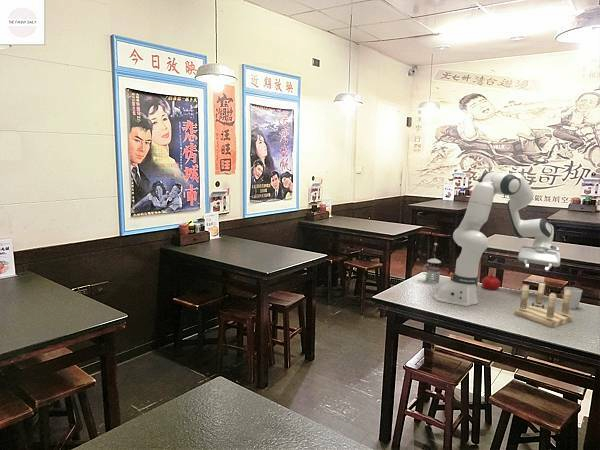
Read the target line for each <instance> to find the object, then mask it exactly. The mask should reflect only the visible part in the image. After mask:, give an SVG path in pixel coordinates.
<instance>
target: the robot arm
mask: <svg viewBox="0 0 600 450" xmlns="http://www.w3.org/2000/svg"><path fill="white" fill-rule="evenodd" d="M496 195H504V196H508V197H509V200H507V205H506V206H507V207H506V208H507V211H508V215H509V218H510V219H509V220H510V223H511V226H512V227H511V228H512V233H513V235H514V236H515V237H516V238H518V239H524V238H532V237H534V241H533V244H532V246H524V245H523V246H520V247H519V250H518V252H519V253H518V255H517V259H518V261H520V262H524V265H525V266H524V268H525V269H529V267H530V264H529V263H532V264H539V265H544V266H545V268H544V272H549V270H550V269H551V268H552V267H558V268H559V267H560V266H561V253H560V252H561V251H560V247H558V246H556V245H554V244H552V242H553V240H554V234H555V232H554V231H555V229H554V226H553V225H552V224H551V223H550V222H549V221H548V220H546V219H545V218H535V219H533V218H532V219H527V220H525V219H521V217H520V213H519V211H520V210H522V209H524V208H526V207H527V206H529V205H530V204H531V203H532V201H533V199H534V192H533V190H532V187H531V186H530V184H529V182H528V180H527V179H526V178H525V176H524V175H522V173H519V172H512V173H510V174H509V173H506V172H501V171H486V172H483V173H482V174H481V176H480V177H479V180H478V183H476V184H475V186H474V188H473V190H472V192H471V194H470V196H469V200H468V204H467V207H466V211H465V213H464V217H463V218H462V219H461V222H460V223H459V225H458V227H457V228H455V230H454V232H453V234H452V239H453V241H454V242H455V243H456V244H457V246H459V247H460V248H461V252H460V254H459V256H458V257H457V259H456V262H455V272H449V276H450V279H449V280H448V281H446V282H444V283H442V284H441V285H439V288H438V291H437V292H434V293H433V299H434V300H436V301H437V302H440V303H441V302H442V303H447V304H453V305H457V306H458V305H459V306H464V307H468V306H471V305H478V302H479V301H478V294H477V291H478V289H477V288H478V286H479V285H478V283H479V276H478V275H479V273H478V272H479V265H480V261H481V258H482V256H483V253H484V252H485V251H486V250H487V249H488V248H489V239H488V237H487V236H486V235H485V233H483V232H481V231H480V230H481V228H482V227H483V226H484V224H485V223H486V222H487V221H488V219H489V216H490V212H491V210H492V209H491V208H492V205H493V202H494V197H495V196H496Z"/></svg>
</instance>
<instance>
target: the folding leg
mask: <svg viewBox="0 0 600 450" xmlns="http://www.w3.org/2000/svg"><path fill="white" fill-rule="evenodd" d="M546 284H547V282H545V281H542V280H540V281H539V282H538V287H537V288H538V289H537V293H536V299H535V301H534V304H536V305H543V298H544V294H545V290H546Z"/></svg>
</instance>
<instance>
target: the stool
mask: <svg viewBox="0 0 600 450" xmlns="http://www.w3.org/2000/svg"><path fill="white" fill-rule="evenodd" d="M529 290H530V287H529V286H528V285H527V284H524V285H522V289H521V297H520V304H519V308H517V309H514V313H513V314H514V316H517V317H520V318H522V319H525V320H528V321H531V322H534V323H535V324H539V325H543V326H545V327H547V328H550V329H551V328H556V327H559V326H562V325H565V324H569V323H572V322H573V319H574V316H572V315H569V314H570V309H569V307H570V300H571V293H572V292H571V290H569V289H567V290H565V293H564V292H563V300H562V307H561V312H560V311H557V310H556V309H555V308H556V302H557V294H556V293H555V292H550V294H549V295H548V303H547V307H546V306H545V304H543V303H542V304H541V305H540V304H535V301H534V302H531V305H527V304H528V298H529V297H528V296H529V292H530V291H529Z"/></svg>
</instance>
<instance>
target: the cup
mask: <svg viewBox="0 0 600 450" xmlns="http://www.w3.org/2000/svg"><path fill="white" fill-rule="evenodd" d="M567 289H569V290H571V292H572V293H571V300H570V307H569V310H577V308H578V306H579V305H580V301H581V300H582V295H583V289H581V288H577V287H572V286H565V287H563V294H564V293H565V290H567Z"/></svg>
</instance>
